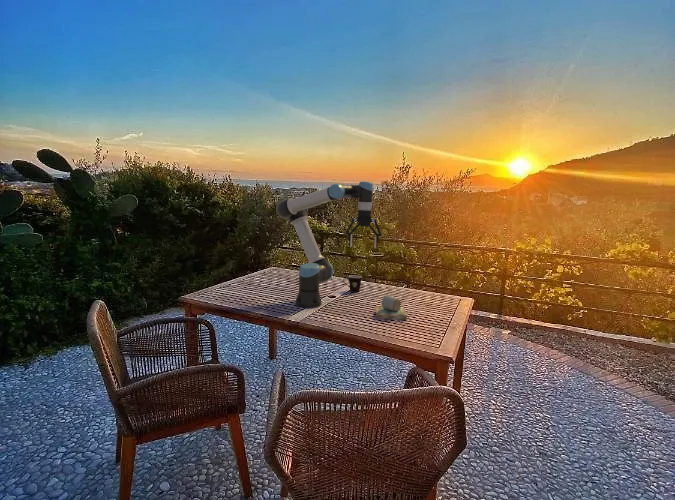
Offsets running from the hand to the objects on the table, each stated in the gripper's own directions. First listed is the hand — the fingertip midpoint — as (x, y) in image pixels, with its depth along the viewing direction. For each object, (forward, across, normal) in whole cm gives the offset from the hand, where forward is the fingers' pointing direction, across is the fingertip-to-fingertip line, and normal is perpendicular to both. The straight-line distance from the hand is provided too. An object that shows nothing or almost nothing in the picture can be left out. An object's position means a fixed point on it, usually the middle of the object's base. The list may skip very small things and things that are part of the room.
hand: (363, 247), depth 213 cm
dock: (+35, +17, -13) cm, 41 cm away
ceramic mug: (+32, +18, -12) cm, 38 cm away
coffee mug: (+35, -6, +34) cm, 49 cm away
